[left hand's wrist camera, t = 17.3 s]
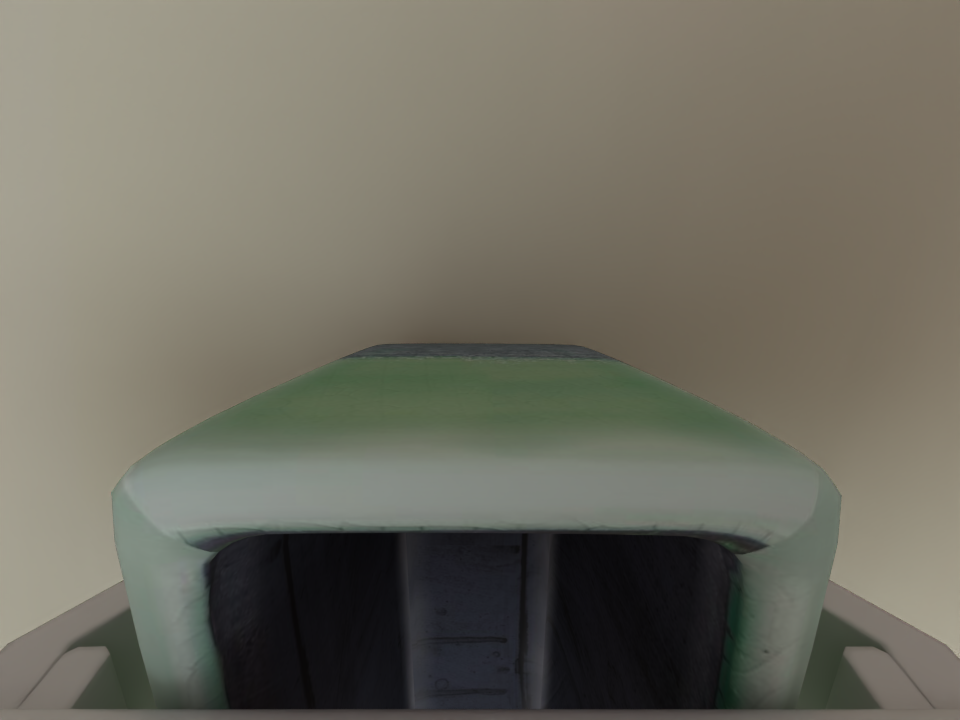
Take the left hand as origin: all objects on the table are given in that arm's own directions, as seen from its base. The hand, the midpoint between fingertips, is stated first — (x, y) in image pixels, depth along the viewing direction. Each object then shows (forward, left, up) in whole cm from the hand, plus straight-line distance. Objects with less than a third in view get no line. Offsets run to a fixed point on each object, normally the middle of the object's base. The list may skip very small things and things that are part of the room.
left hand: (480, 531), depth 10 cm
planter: (-2, +9, -3) cm, 10 cm away
